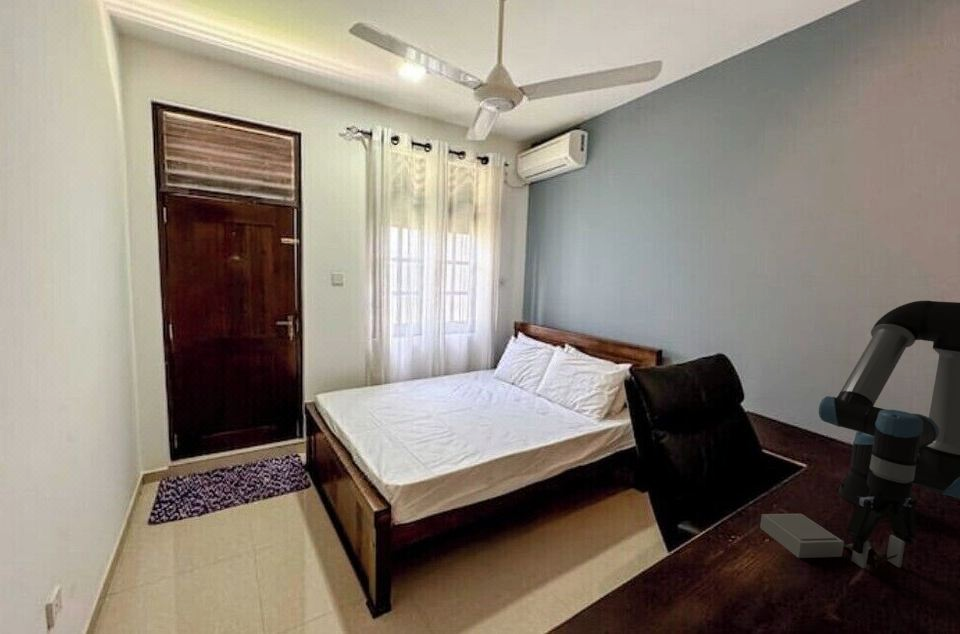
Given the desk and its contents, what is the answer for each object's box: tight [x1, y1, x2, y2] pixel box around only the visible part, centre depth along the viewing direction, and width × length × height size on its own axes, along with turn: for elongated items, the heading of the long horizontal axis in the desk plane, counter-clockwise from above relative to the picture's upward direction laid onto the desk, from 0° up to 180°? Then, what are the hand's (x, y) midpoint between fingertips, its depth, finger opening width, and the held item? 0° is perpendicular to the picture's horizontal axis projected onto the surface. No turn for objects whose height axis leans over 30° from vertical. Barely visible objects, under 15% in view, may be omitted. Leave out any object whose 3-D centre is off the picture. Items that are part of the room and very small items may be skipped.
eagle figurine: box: [843, 537, 897, 570], centre depth 102 cm, size 8×7×9 cm
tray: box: [759, 513, 845, 559], centre depth 107 cm, size 12×12×4 cm
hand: (875, 563), depth 99 cm, fingers open, 9 cm apart
